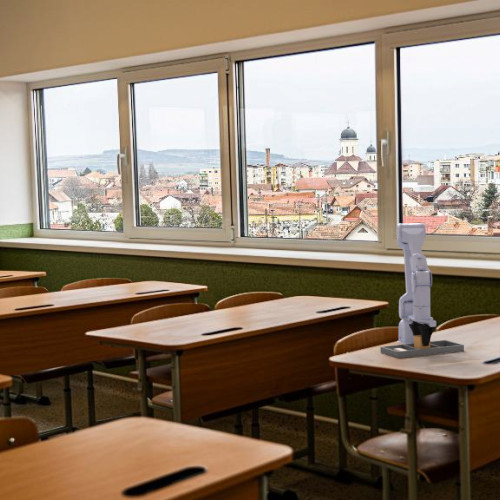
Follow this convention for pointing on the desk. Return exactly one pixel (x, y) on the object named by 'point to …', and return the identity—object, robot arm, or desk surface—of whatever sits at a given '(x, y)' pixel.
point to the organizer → (435, 348)
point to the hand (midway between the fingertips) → (422, 344)
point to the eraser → (400, 349)
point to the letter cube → (419, 342)
